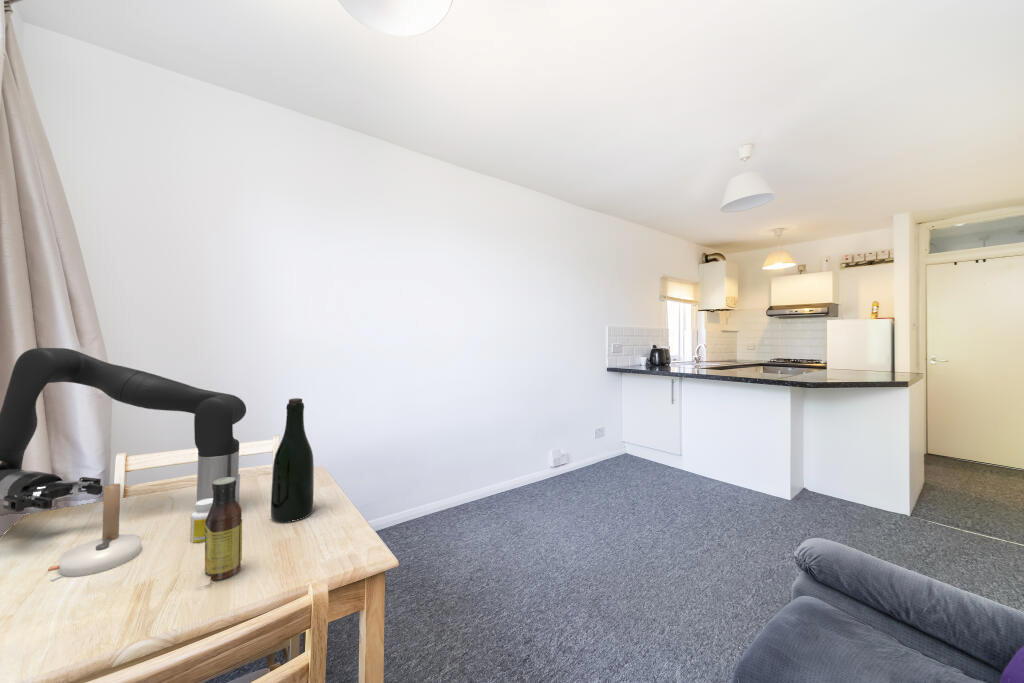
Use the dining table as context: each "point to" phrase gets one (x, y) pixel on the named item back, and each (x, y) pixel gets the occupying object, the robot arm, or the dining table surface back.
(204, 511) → the supplement bottle
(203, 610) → the dining table surface
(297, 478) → the dark green wine bottle
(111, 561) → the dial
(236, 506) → the sauce bottle
